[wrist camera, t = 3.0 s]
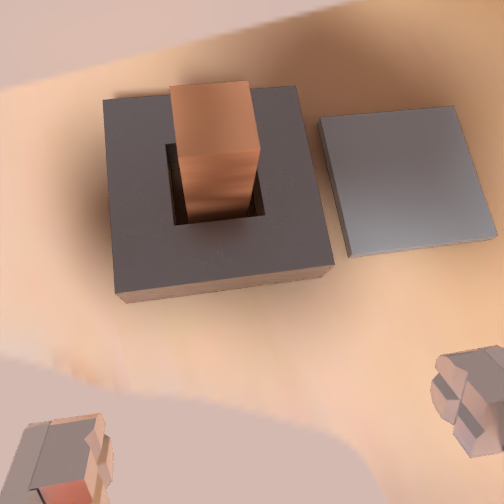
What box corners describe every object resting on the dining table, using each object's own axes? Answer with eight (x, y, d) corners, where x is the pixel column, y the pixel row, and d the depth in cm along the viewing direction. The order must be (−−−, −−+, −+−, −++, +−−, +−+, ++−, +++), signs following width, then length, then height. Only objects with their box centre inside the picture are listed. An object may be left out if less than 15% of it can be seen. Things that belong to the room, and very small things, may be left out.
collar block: (287, 114, 29) (295, 85, 27) (321, 277, 26) (334, 264, 23) (114, 128, 28) (102, 99, 25) (126, 303, 24) (115, 293, 22)
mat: (447, 112, 31) (453, 105, 30) (490, 239, 28) (497, 235, 27) (317, 124, 29) (320, 117, 29) (348, 258, 27) (352, 254, 26)
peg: (237, 173, 28) (248, 80, 19) (245, 223, 27) (260, 148, 18) (183, 178, 27) (169, 86, 19) (189, 229, 26) (178, 156, 18)
